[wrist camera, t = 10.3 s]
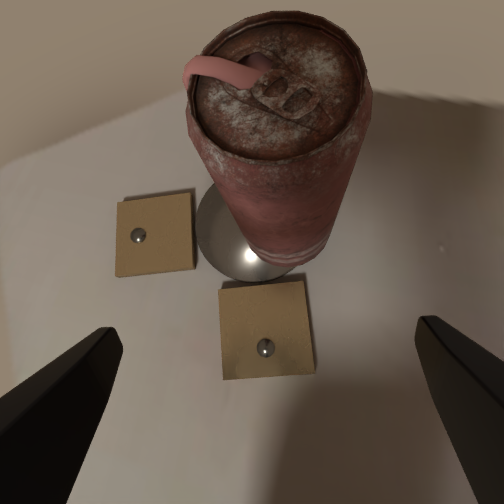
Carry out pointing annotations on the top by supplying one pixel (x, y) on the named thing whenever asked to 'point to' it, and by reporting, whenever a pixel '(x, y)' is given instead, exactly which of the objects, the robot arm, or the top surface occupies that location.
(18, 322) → the top surface
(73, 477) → the robot arm
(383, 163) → the top surface
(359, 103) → the can
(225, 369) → the flat squares and disc
